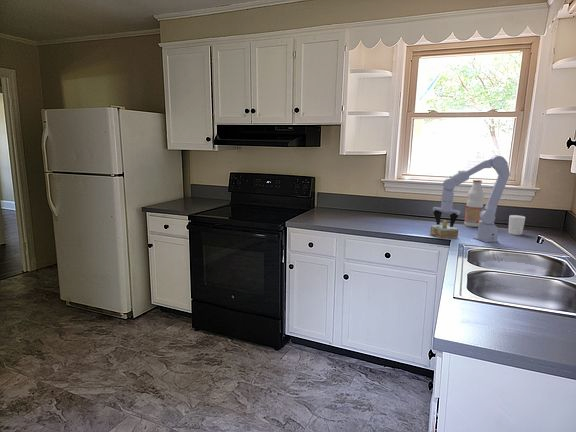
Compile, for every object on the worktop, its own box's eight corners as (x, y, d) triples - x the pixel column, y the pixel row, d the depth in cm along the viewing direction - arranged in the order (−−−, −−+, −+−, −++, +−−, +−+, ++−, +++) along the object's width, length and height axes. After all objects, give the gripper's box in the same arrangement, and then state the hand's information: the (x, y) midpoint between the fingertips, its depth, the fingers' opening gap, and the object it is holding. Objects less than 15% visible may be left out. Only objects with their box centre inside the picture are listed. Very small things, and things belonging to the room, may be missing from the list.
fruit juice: (468, 227, 241) (473, 180, 236) (461, 223, 251) (466, 179, 245) (483, 227, 242) (489, 181, 236) (475, 223, 251) (481, 179, 246)
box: (457, 237, 214) (458, 230, 213) (441, 238, 212) (442, 231, 211) (446, 233, 224) (446, 226, 223) (430, 233, 221) (430, 226, 220)
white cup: (514, 235, 222) (517, 218, 220) (503, 232, 229) (506, 215, 227) (526, 235, 224) (528, 217, 222) (515, 231, 232) (517, 214, 230)
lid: (458, 230, 213) (459, 222, 213) (442, 231, 211) (442, 222, 210) (446, 226, 223) (447, 218, 222) (430, 226, 220) (431, 219, 220)
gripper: (463, 202, 211) (461, 227, 214) (438, 198, 222) (436, 222, 225) (457, 203, 207) (454, 228, 209) (431, 199, 217) (429, 224, 220)
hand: (444, 225), depth 217 cm, fingers open, 7 cm apart
